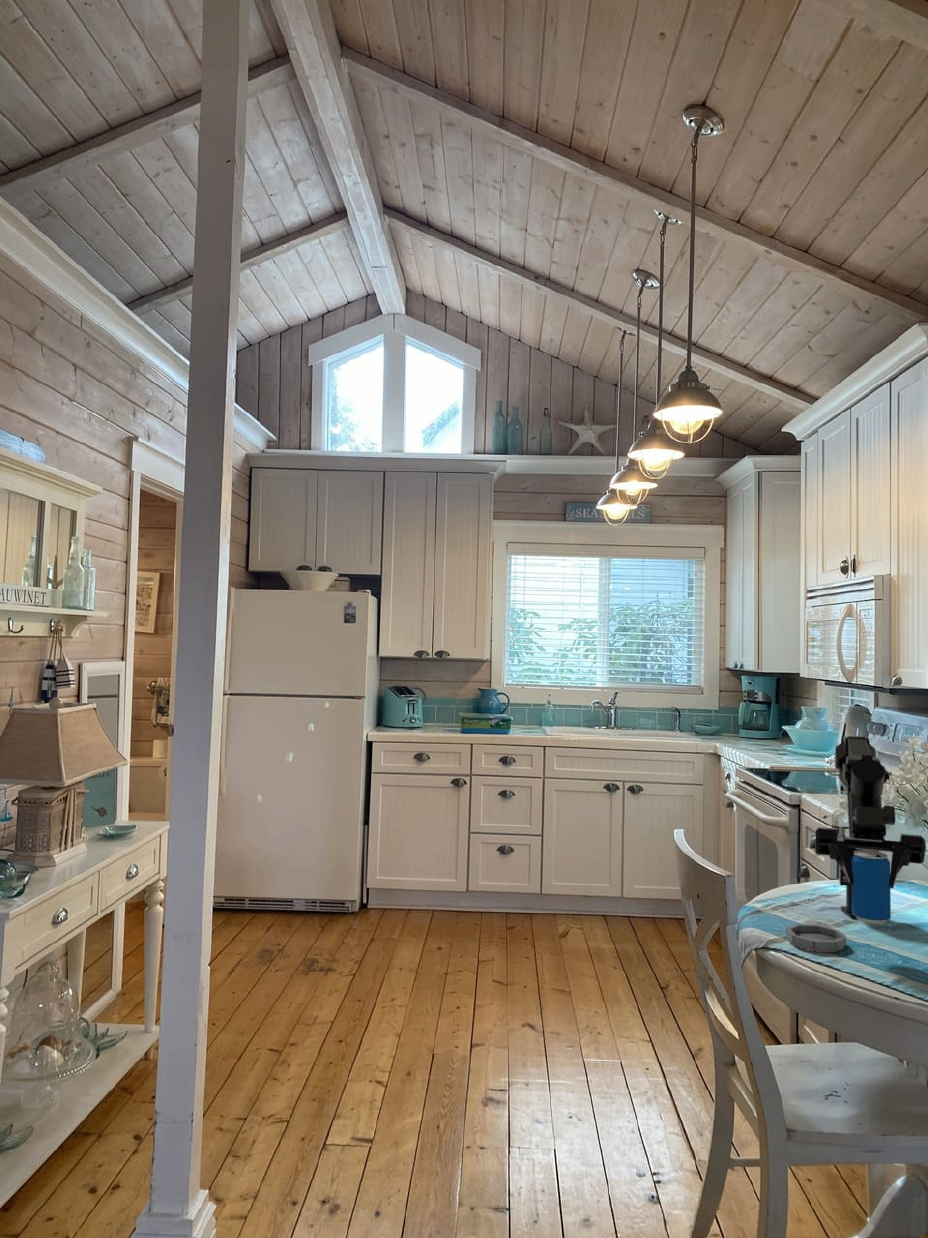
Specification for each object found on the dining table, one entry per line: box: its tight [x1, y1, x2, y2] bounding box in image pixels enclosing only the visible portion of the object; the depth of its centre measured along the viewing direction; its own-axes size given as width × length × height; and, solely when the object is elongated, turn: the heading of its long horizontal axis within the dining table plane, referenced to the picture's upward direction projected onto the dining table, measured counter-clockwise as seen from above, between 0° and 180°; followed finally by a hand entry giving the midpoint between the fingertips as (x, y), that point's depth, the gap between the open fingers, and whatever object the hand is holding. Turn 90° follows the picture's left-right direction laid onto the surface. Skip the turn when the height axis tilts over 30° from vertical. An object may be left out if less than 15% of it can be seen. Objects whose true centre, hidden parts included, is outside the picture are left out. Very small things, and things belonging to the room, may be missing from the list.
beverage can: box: [851, 850, 892, 925], centre depth 155 cm, size 6×6×12 cm
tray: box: [785, 923, 847, 953], centre depth 161 cm, size 10×10×2 cm
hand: (871, 885), depth 154 cm, fingers closed on beverage can, 6 cm apart
